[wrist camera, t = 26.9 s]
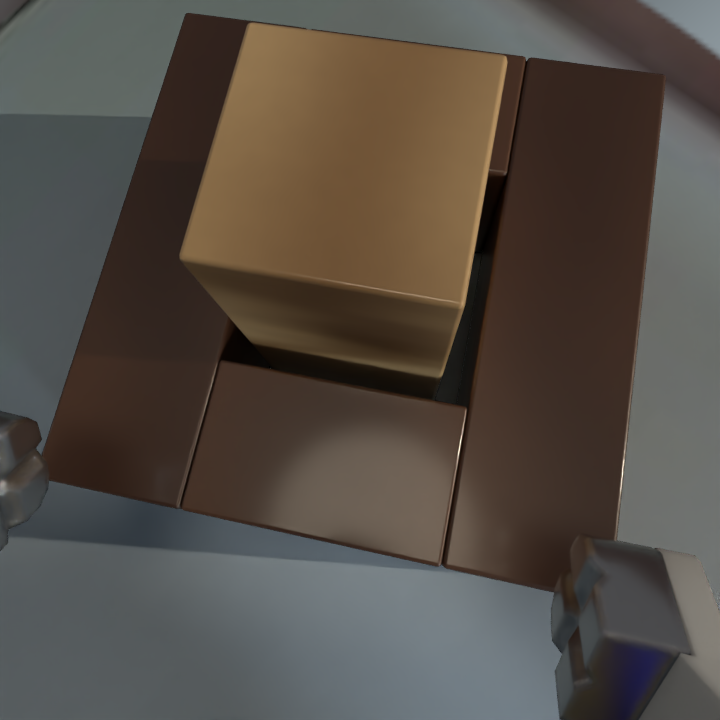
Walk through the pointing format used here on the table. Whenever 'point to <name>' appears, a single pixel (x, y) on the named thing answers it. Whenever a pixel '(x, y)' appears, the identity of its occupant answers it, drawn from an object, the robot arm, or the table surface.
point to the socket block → (372, 406)
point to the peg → (347, 202)
